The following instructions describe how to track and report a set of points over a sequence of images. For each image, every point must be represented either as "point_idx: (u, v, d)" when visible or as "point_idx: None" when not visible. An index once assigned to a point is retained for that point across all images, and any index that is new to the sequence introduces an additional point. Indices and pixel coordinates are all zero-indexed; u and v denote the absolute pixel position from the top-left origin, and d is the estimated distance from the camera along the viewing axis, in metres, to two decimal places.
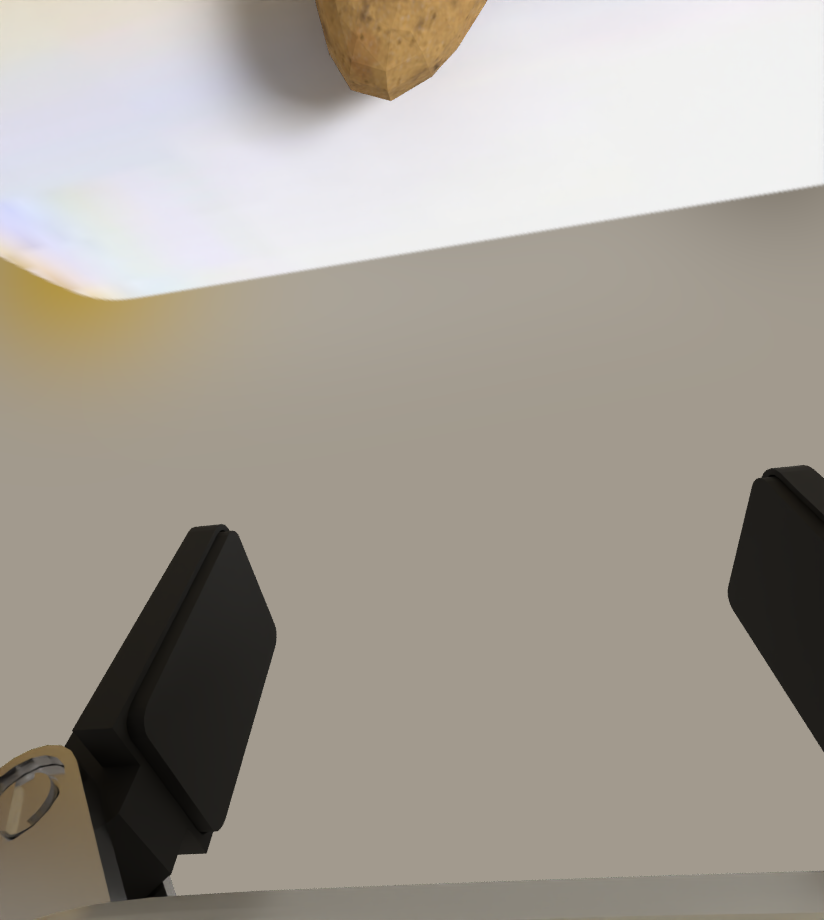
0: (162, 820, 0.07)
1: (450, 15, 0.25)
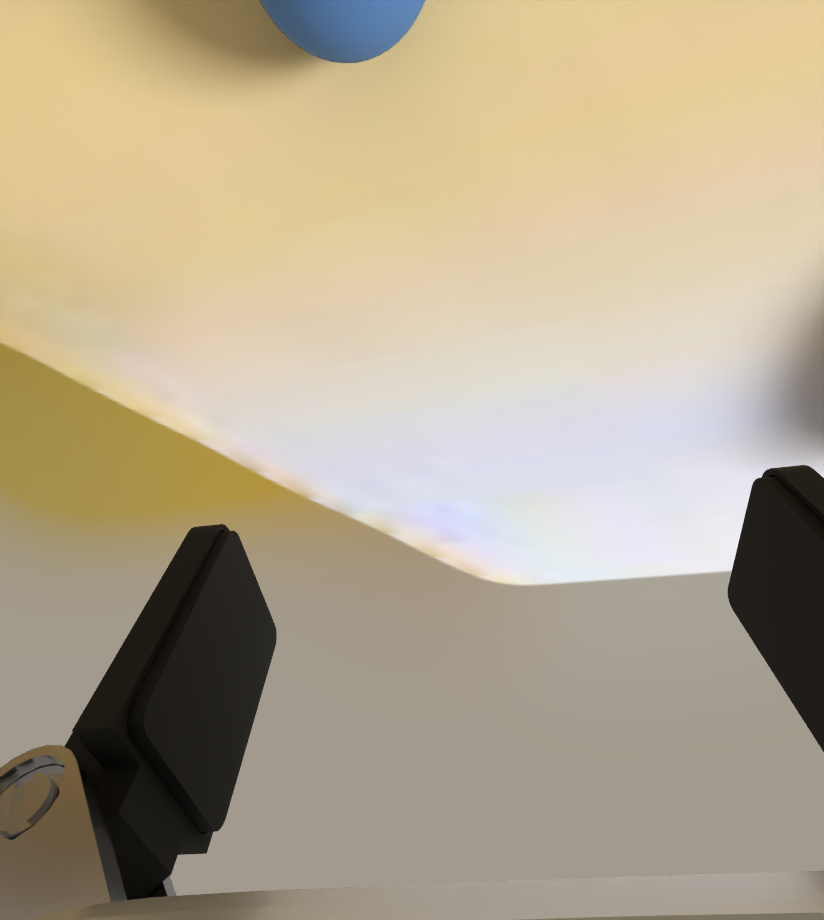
0: (162, 820, 0.07)
1: None
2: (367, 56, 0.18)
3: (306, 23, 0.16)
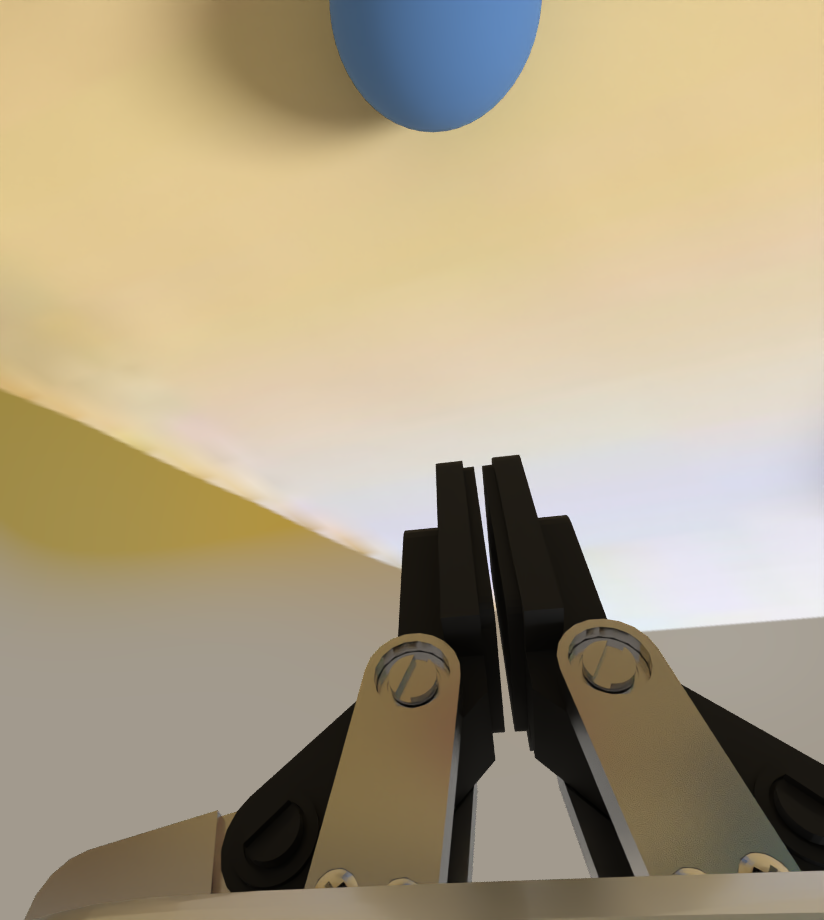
0: None
1: None
2: (460, 126, 0.16)
3: (403, 99, 0.15)
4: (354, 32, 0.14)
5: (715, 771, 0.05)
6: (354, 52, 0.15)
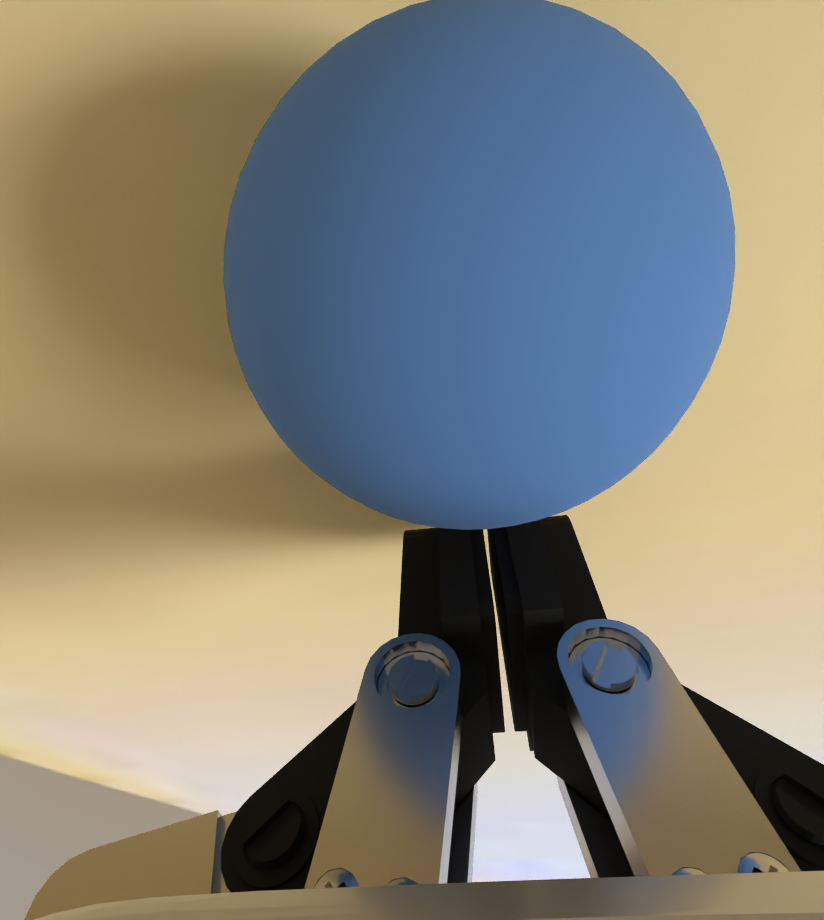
0: None
1: None
2: None
3: (394, 516, 0.07)
4: (274, 411, 0.06)
5: (715, 771, 0.05)
6: (278, 431, 0.06)
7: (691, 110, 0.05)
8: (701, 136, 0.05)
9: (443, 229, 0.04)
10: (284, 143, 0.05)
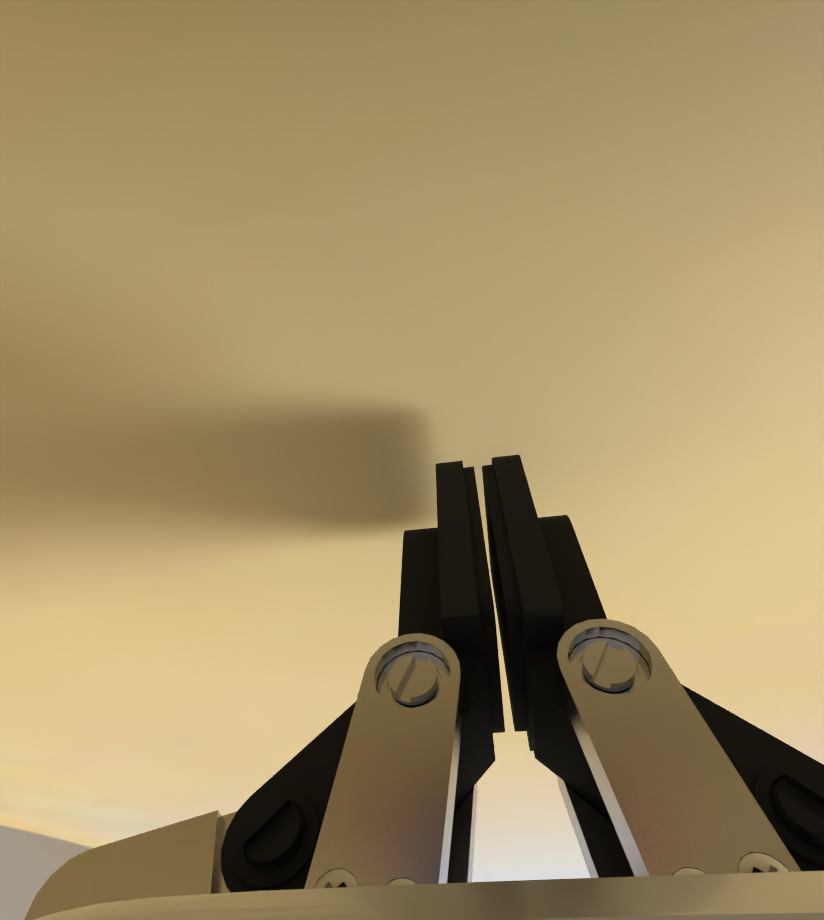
0: None
1: None
2: None
3: None
4: None
5: (715, 771, 0.05)
6: None
7: None
8: None
9: None
10: None
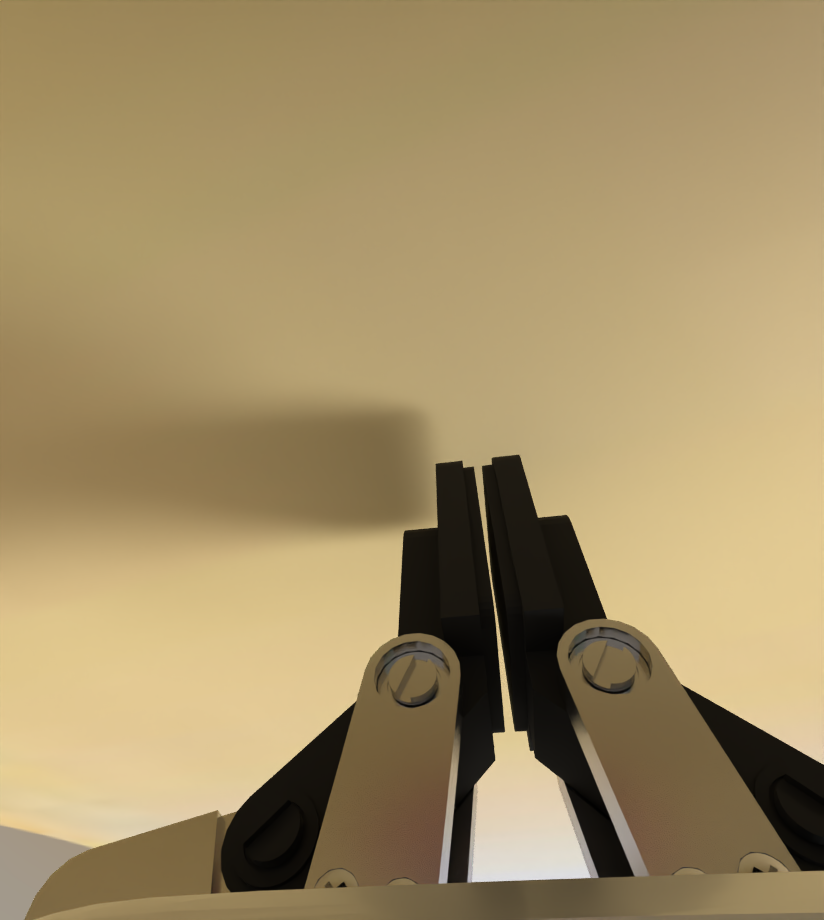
0: None
1: None
2: None
3: None
4: None
5: (715, 771, 0.05)
6: None
7: None
8: None
9: None
10: None
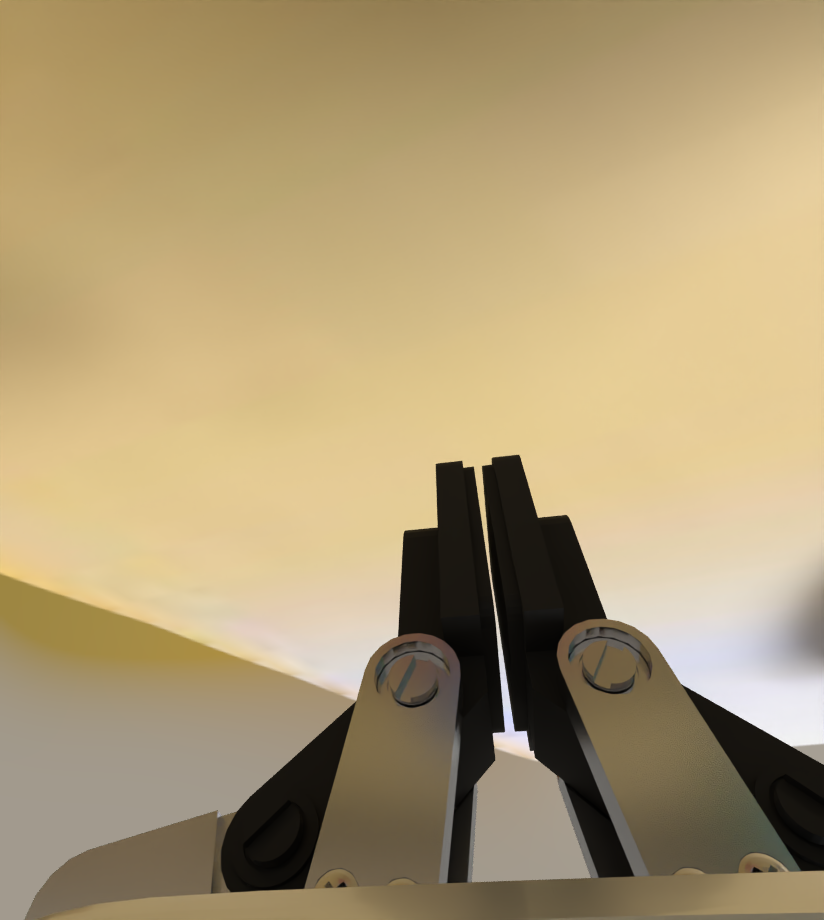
0: None
1: None
2: None
3: None
4: None
5: (715, 771, 0.05)
6: None
7: None
8: None
9: None
10: None
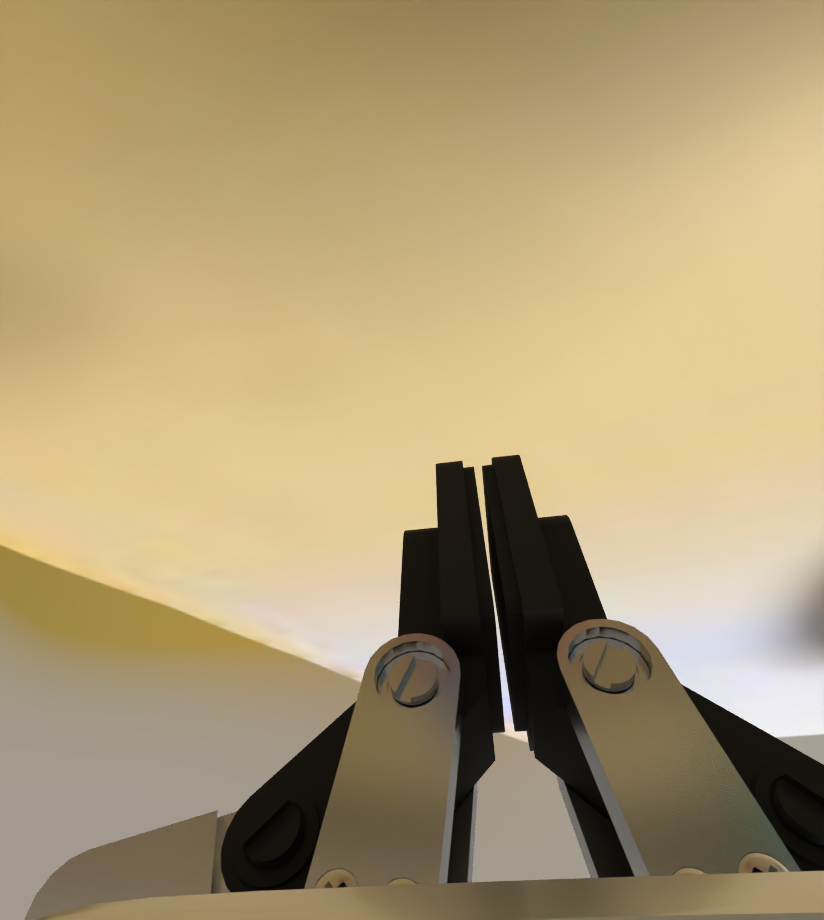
0: None
1: None
2: None
3: None
4: None
5: (715, 771, 0.05)
6: None
7: None
8: None
9: None
10: None
